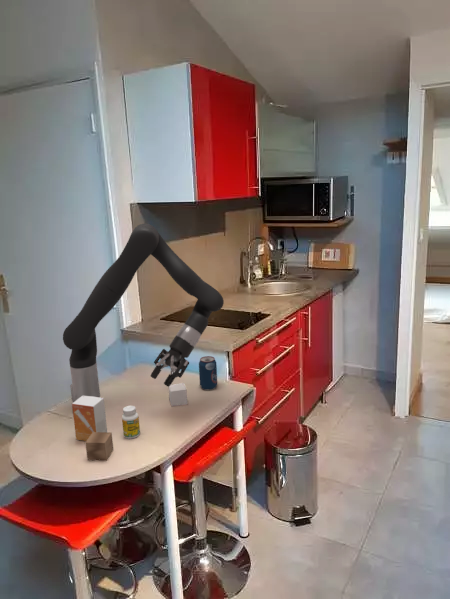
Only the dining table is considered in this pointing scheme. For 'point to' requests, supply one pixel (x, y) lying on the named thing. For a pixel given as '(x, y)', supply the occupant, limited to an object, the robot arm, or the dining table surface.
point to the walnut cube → (99, 446)
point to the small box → (89, 416)
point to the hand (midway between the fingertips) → (159, 381)
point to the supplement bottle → (130, 422)
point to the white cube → (177, 394)
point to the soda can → (208, 373)
